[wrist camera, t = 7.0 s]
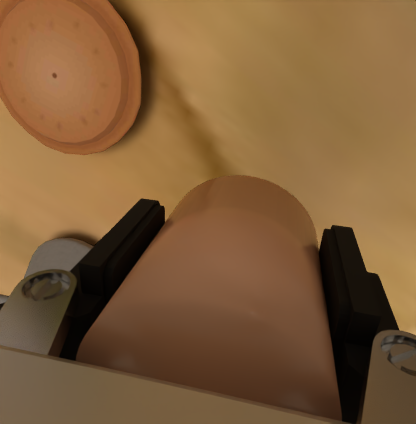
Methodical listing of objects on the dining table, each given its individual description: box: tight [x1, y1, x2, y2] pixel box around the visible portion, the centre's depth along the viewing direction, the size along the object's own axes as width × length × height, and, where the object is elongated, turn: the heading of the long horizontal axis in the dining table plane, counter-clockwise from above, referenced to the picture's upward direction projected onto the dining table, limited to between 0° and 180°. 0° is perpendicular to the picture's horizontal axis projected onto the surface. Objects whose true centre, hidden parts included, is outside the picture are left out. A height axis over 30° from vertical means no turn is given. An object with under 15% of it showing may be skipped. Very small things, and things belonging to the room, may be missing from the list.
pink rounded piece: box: [76, 175, 342, 421], centre depth 9 cm, size 5×5×6 cm
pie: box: [0, 0, 141, 155], centre depth 34 cm, size 16×16×5 cm
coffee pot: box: [0, 238, 94, 303], centre depth 40 cm, size 21×12×15 cm, turn 58°
